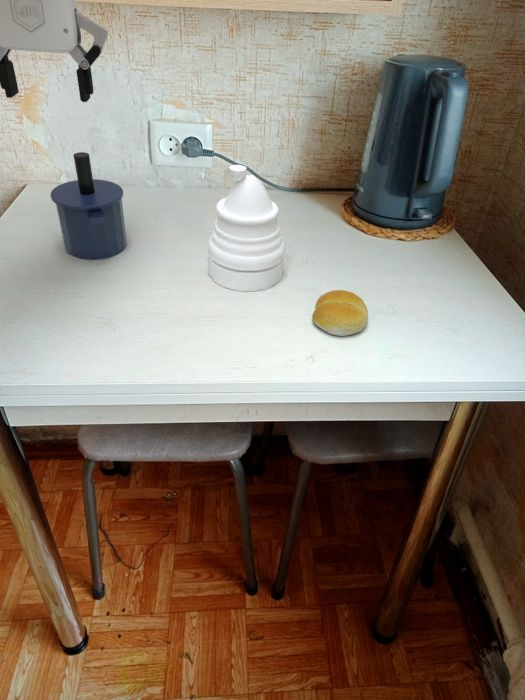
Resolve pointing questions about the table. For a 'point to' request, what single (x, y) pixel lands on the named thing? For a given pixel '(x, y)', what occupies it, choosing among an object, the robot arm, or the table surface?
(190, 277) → the table surface
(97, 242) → the pot
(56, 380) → the table surface
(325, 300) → the bread roll
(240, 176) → the honey pot
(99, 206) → the lid
